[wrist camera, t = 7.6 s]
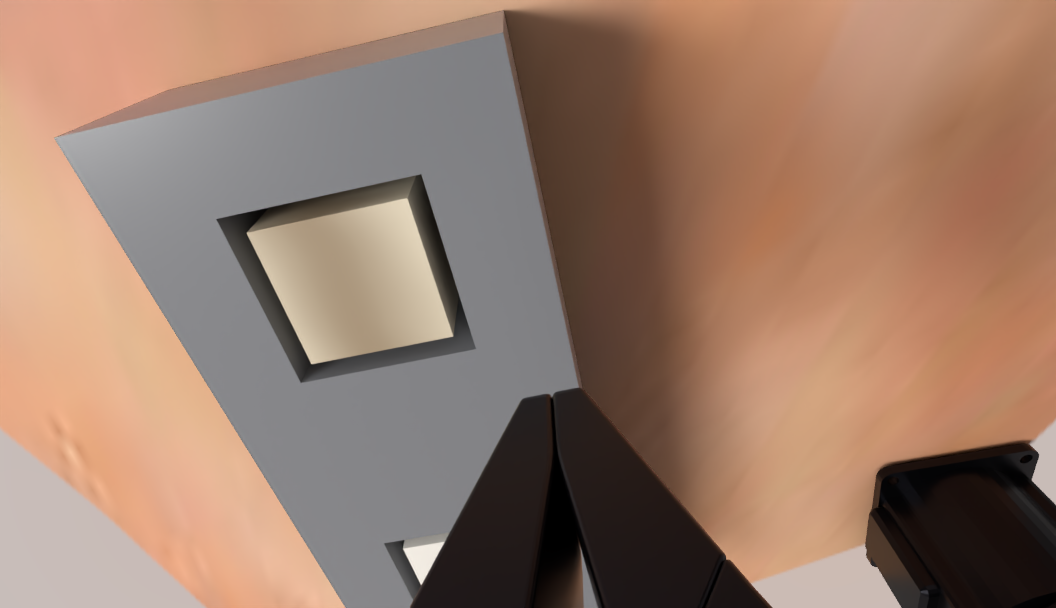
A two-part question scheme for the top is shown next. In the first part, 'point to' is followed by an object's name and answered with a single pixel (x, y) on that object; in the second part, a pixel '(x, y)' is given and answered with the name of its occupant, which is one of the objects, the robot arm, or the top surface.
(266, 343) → the collar block
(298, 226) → the birch peg
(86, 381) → the top surface
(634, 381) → the top surface
